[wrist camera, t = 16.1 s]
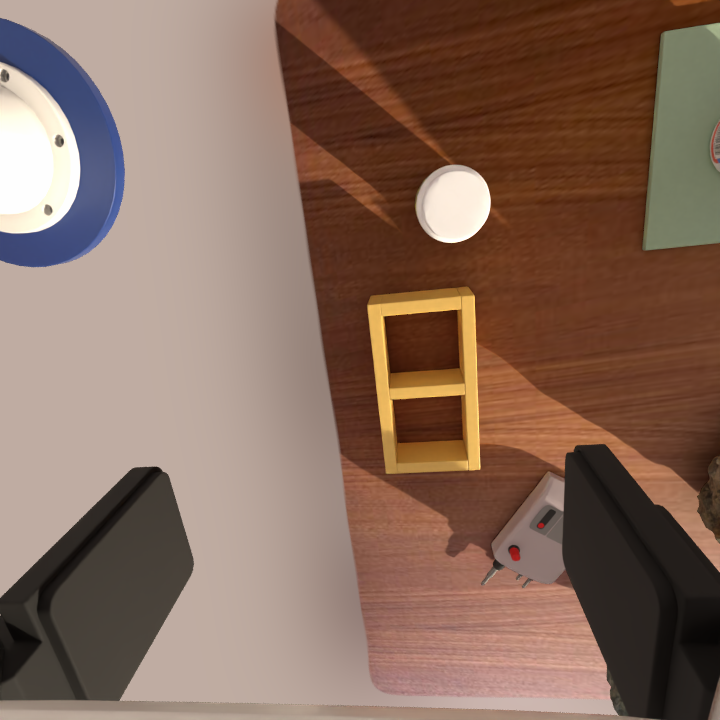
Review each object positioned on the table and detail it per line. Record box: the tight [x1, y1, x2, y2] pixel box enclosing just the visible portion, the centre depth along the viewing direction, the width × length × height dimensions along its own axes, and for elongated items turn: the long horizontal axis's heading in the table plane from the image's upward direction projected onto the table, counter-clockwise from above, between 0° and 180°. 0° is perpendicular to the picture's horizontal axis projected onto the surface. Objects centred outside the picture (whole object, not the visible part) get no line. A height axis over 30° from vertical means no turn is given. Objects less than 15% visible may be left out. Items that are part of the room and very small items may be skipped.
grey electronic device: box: [481, 456, 565, 588], centre depth 42 cm, size 7×16×3 cm, turn 154°
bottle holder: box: [367, 287, 480, 474], centre depth 38 cm, size 8×15×4 cm, turn 7°
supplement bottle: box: [415, 165, 491, 243], centre depth 31 cm, size 5×5×8 cm
